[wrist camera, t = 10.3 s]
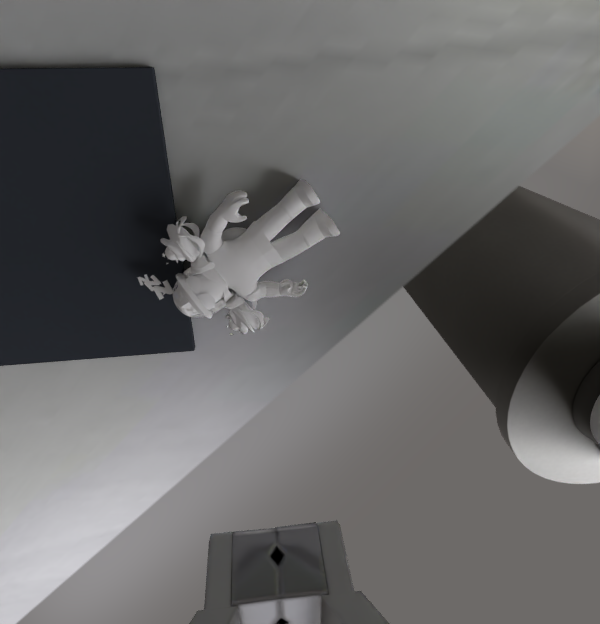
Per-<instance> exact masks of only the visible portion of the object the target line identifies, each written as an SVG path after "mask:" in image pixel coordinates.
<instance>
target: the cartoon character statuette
mask: <svg viewBox="0 0 600 624" xmlns="http://www.w3.org/2000/svg"><path fill="white" fill-rule="evenodd" d="M246 197H247V193H246V192H243V190H236V191H234V192H232V193H229V194H228V195H227V196H226V198H225V199H224V201H223V202H222V203H221V204H220V206H219V207H218V208H217V209H216V210H215V211H214V212H213V213H212V214H211V215H210V217H209V219H208V221H207V223H206V227H205V228H204V230H203V232H202V234H201V237H200V238H199V228H198V226H197V225H196V224H195V223H184V222H185V220H186V219H187V216H185V217H182V218H180V219H179V220H178V221H177V222H176V226H175V225H174V224H169V225H168V226H167V232H168V235H169V237H170V240H167V239H165V238H162V239H160V240H161V243H162V244H164V245H165V246H167V248H166V250H165V254H164V253H163V254H162V255H163V256H164V257H165V255H166V257H167V258H168V259H170V260H176V262H177V263H178V260H180V261H184V260H185V259H186V260H188V261H189V262H191V267H190V268H188V269H187V270H186V271H184V272H183V274H182V273H178V274H176V279H177V280H178V281H177V282H176V284H175V285H176V286H174V288H175V291H174V288H173V290H172V288H171V286H170V284H169V283H168V281H167V280H166V281H164V282H163V284H164V286H165V288H164V287H161V286H154V287H152V286H151V285H160V284H161V282H160V281H159V280H158V279H157V278H156V277H155V276H154V275H152V276H151V278H152V279H153V280H154V281H149V279H148V276H147V274H146V275H144V276H145V279H144V278H142V277H137V278H138V280H139V283H140V285H143V282H144V284H145V285H146V286H147V287H148V288H149V289H150V290H151V291H153V290H154V291H155V293H156V295H157V296H158V298H159V300H161V299H163V298H164V297H163V295H164V294H165V293H166V294H173V300H174V303H175V305H176V307H177V306H178V307H179V308H178V307H177V308H178V309H179V310H180V311H181V312H182V313H183V314H185V315H187V316H189V317H192V316H202V317H205V316H206V317H207V318H208V319H211V318H212V315H213V312H214V313H216V312H218V311H219V310H221V309H222V308H223V307H224V308H225V307H226V308H228V309H231V310H230V311H229V314H227V315H226V316H225V318H229V319H230V321H229V327H230V328H231V329H232V330H234V331H238V330H239V331H240V332H241V333H242V334H246V333H247V332H248V330H250V331H252V332H254V330H253V329H258V330H260V329H262V328H263V327H265V326H266V325H267V323H268V322H269V318H268V317H264V316H263V313H261V312H260V311H256V310H255V309H256V307H257V303H258V301H257V300H259V299H261V298H263V297H279V296H291V297H299V296H301V295H303V294H304V293H305V292H306V289H307V287H308V283H307V282H306V280H303V281H301V282H295V281H291V280H289V279H285V280H283V281H281V282H280V283H278V282H275V281H261V282H257V281H258V280H259V278H260V277H261V276H262V275H263V274H264V273H265V272H267V271H268V270H269V269H271V268H272V267H275V266H277V265H279V264H282V263H284V262H285V261H287V260H289V259H291V258H293V257H295V256H297V255H298V254H300V253H302V252H303V251H305V250H307V249H308V248H310V247H312V246H313V245H315V244H316V243H318V242H319V241H321V240H322V239H324V238H325V237H330V236H333V237H335V236H338V235H339V234H340V232H339V230H338V228H337V227H336V225H335V223H334V222H333V221H332V219H331V218H330V217H329V216H328V215H327V214H326V213H325V212H324V211H323V210H322V209H318V210H317V211H316V212H315V213H314V214H313V215H312V216H311V217H310V218H309V219H307V221H306V222H305V223H304V224H303V225H302V226H301V227H300V228H299V229H298V230H297V231H296V232H294V233H292V234H289V235H286V236H284V237H281V238H279V239H277V240H275V241H273V242H270V241H271V240H272V239H273V238H274V237H275V236H276V235H277V234H278V233H279V232H280V231H281V230H282V229H283V228H284V227H285V226H286V225H287V224H288V223H289V222H290V221H291V220H293V219H294V218H295V217H296V216H297V215H299V214H300V213H301V212H302V211H303V210H305V209H306V208H307V207H311V206H315V205H317V204H319V203H320V200H319V198H318V196H317V194H316V193H315V191H314V190H313V188H312V187H311V186H310V185H309V183H308V182H307V181H306V180H304V179H301V180H300V181H299V182H298V183H297V184H296V185H295V186H294V187H293V188H292V189H291V190H290V191H289V192H288V193H287V194H286V195H285V196H284V197H283V198H282V200H281V201H280V202H279V203H278V204H277V205H276V206H274V207H273V208H272V209H270V210H269V211H268V212H266V213H265V214H264V215H263V216H262V217H260V218H259V219H258V220H257V221H255V220H254V221H253V223H252V224H251V225H250V226H249V228H248V229H244V228H240V227H233V228H229V229H226V230H225V231H223V230H224V229H225V227H226V225H227V222H234V223H238V222H242V221H244V220H246V219H247V217H246V216H241V215H240V214H239V213H238V210H239V208H240V206H242V205H245V204H247V203H249V199H248V198H246ZM179 221H181V222H180V225H178V222H179ZM183 223H184V224H183ZM181 226H187V227H189V228H190V229H192V230H193V232H194V235H195V236H193V235H190V234H189V233H188V231H187V230H186V229H184V228H183V227H181ZM167 264H168V263H167ZM142 281H143V282H142ZM177 285H178V286H177ZM176 287H177V288H176ZM161 292H162V293H163V295H162V293H161ZM239 295H240V296H241V297H240V296H239ZM243 298H244V299H245V300H247V301H251V302H252V304H253V310H252V309H251V307H250V306H249V305H248V304H247V303H246V302H245V301H244V299H243ZM196 314H200V315H196ZM193 318H201V317H193ZM258 320H259V321H258ZM263 321H264V325H263ZM259 323H260V327H259ZM262 325H263V326H262ZM226 327H227V328H228V326H226ZM254 333H255V332H254ZM230 335H233V334H232V333H231V334H230Z"/></svg>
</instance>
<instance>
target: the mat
mask: <svg viewBox="0 0 600 624" xmlns="http://www.w3.org/2000/svg"><path fill="white" fill-rule="evenodd" d="M176 222H177V220H176V213H175V206H174V199H173V192H172V185H171V179H170V172H169V165H168V158H167V151H166V144H165V138H164V131H163V124H162V117H161V110H160V103H159V97H158V90H157V83H156V76H155V69H154V68H153V67H125V68H10V69H0V366H3V365H16V364H29V363H42V362H55V361H68V360H81V359H94V358H106V357H119V356H132V355H145V354H158V353H171V352H184V351H194V350H195V343H194V336H193V329H192V322H191V317H189V316H187V315H185V314H183V313H182V312H181V311H180V310H179V309H178V308H179V307H178V306H177V307H178V308H177V307H176V305H175V303H174V300H173V294H166V293H165V294H164V295H163V293H162V292H161V293H162V295H163V297H164V298H163V299H161V300H159V298H158V296H157V295H156V293H155V291H154V290H153V291H151V290H150V289H149V288H148V287H147V286H146V285H145V284H144V282H143V281H142V282H143V285H140V283H139V280H138V278H137V277H142V278H144V279H145V276H144V275H146V274H147V276H148V279H149V281H154V280H153V279H152V278H151V276H152V275H154V276H155V277H156V278H157V279H158V280H159V281H160V282H161V284H160V285H151V286H152V287H154V286H161V287H164V288H165V286H164V284H163V282H164V281H166V280H167V281H168V283H169V284H170V286H171V288H172V290H173V288H174V286H176V285H175V284H176V282H177V281H178V280H177V279H176V274H178V273H182V274H183V272H184V268H183V261H180V260H178V263H177V262H176V260H170V259H168V258H167V257H166V255H165V257H164V256H163V255H162V254H163V253H164V254H165V250H166V248H167V246H165V245H164V244H162V243H161V240H160V239H162V238H165V239H167V240H170V237H169V235H168V232H167V226H168V225H169V224H174V225H175V226H176ZM167 263H168V264H167ZM177 286H178V285H177ZM176 288H177V287H176ZM174 291H175V288H174Z"/></svg>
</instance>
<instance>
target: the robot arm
mask: <svg viewBox="0 0 600 624" xmlns="http://www.w3.org/2000/svg"><path fill="white" fill-rule="evenodd" d="M573 419H574V423H575V425H576V427H577V428H578V430H579V431H580V432H581V433H582V434H584V435H585V436H587V437H588V438H590V439H591V440H593V441H594V442H596V443H597V444H598V446H599V448H600V361H599V362H598V363H597V364H596V365H595V366H594V367H593V368H592V369H591V370H590V372H589V373H588V374H587V375H586V377H585V378H584V380H583V381H582V383H581V385H580V387H579V389H578V391H577V393H576V396H575V399H574V403H573ZM189 624H389V623H388V622H387V620H386V619H385V618H384V617H383V616H382V615H381V613H380V612H379V611H378V610H377V609H376V608H375V607H374V606H373V604H372V603H371V602H370V601H369V600H368V599H367V598H366V596H365V595H364V594H363V593H362V592H361V591H354V588H353V583H352V579H351V574H350V569H349V565H348V560H347V555H346V551H345V546H344V541H343V537H342V533H341V528H340V524H339V523H338V521H337V520H336V521H328V522H321V523H316V522H314V523H306V524H298V525H290V526H282V527H275V528H269V529H259V530H247V531H236V532H224V533H215V534H211V536H210V540H209V549H208V563H207V576H206V590H205V604H204V610H200V611H197V612H196V614H195V616H194V617H193V619H192V620H191V622H190V623H189Z"/></svg>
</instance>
